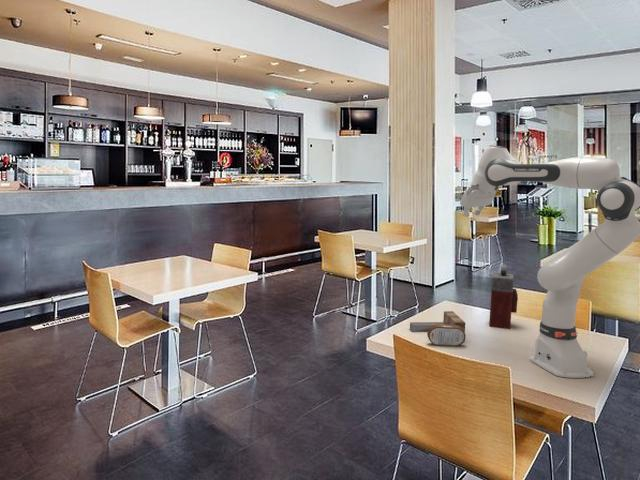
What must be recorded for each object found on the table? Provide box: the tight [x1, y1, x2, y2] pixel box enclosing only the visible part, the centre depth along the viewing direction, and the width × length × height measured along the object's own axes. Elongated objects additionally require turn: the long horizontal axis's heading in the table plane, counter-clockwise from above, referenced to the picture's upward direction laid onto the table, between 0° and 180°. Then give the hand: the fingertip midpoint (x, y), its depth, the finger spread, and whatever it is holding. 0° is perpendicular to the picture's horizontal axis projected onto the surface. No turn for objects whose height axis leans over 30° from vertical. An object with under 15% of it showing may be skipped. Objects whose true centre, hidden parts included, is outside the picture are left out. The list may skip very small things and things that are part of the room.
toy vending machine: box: [488, 264, 519, 330], centre depth 220 cm, size 9×11×28 cm
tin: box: [426, 324, 467, 347], centre depth 196 cm, size 15×3×8 cm, turn 84°
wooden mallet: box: [409, 310, 466, 333], centre depth 208 cm, size 16×19×8 cm
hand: (471, 215), depth 201 cm, fingers open, 8 cm apart
